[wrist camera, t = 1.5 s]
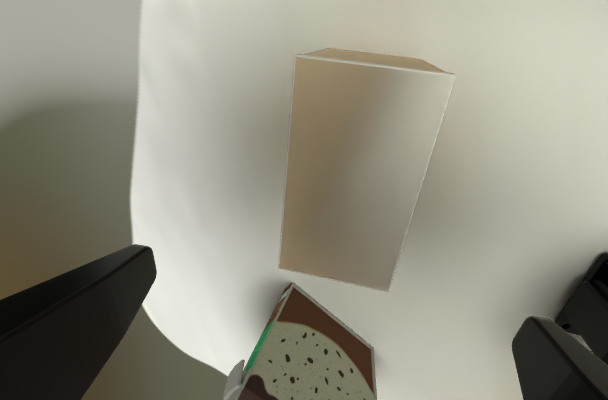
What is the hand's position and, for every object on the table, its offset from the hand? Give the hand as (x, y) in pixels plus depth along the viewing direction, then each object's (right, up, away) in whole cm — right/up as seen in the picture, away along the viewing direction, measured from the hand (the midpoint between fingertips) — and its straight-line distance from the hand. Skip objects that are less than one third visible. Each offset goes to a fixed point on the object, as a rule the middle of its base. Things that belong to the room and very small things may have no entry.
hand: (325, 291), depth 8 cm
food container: (0, -9, +20) cm, 22 cm away
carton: (+3, +6, +11) cm, 13 cm away
